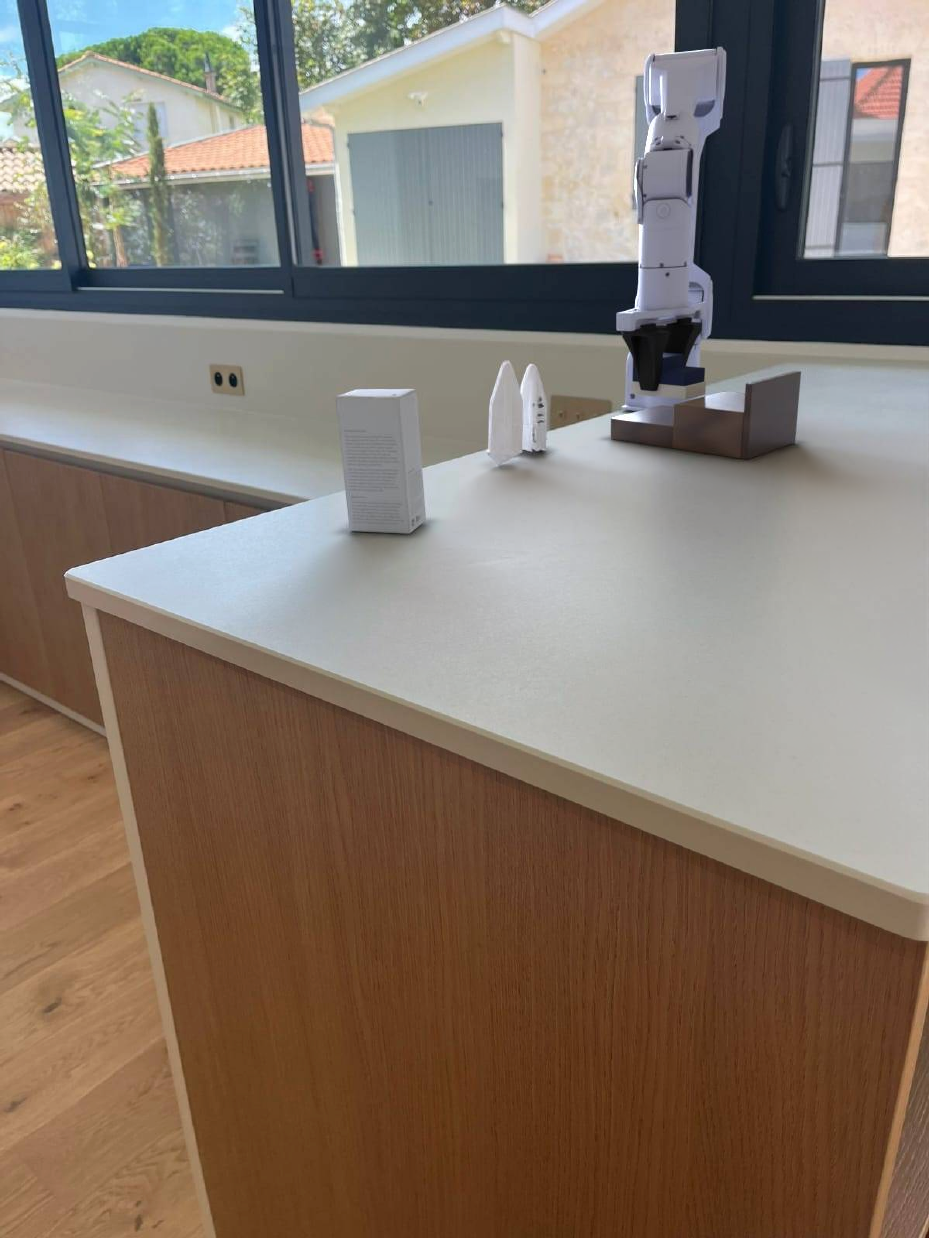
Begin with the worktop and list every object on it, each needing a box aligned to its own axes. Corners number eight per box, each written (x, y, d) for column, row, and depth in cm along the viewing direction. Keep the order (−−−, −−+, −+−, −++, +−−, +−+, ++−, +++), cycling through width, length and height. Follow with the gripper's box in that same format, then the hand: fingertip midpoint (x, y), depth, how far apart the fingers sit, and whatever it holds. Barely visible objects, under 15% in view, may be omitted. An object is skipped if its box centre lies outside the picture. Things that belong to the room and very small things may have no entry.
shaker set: (512, 472, 102) (509, 367, 98) (477, 469, 104) (473, 366, 99) (555, 448, 112) (554, 351, 107) (522, 446, 113) (520, 351, 109)
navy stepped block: (630, 394, 114) (630, 355, 113) (650, 389, 117) (651, 351, 115) (685, 399, 109) (687, 359, 107) (705, 394, 111) (707, 355, 110)
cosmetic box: (427, 521, 86) (418, 388, 82) (409, 535, 83) (399, 396, 78) (367, 518, 88) (355, 388, 84) (347, 531, 85) (333, 396, 80)
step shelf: (610, 438, 115) (611, 371, 112) (660, 425, 121) (662, 360, 118) (747, 459, 102) (752, 384, 99) (795, 443, 108) (801, 371, 105)
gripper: (653, 271, 101) (650, 399, 106) (730, 262, 110) (723, 381, 115) (602, 271, 106) (601, 394, 111) (679, 263, 115) (675, 377, 120)
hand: (660, 387), depth 113 cm, fingers closed on navy stepped block, 4 cm apart
